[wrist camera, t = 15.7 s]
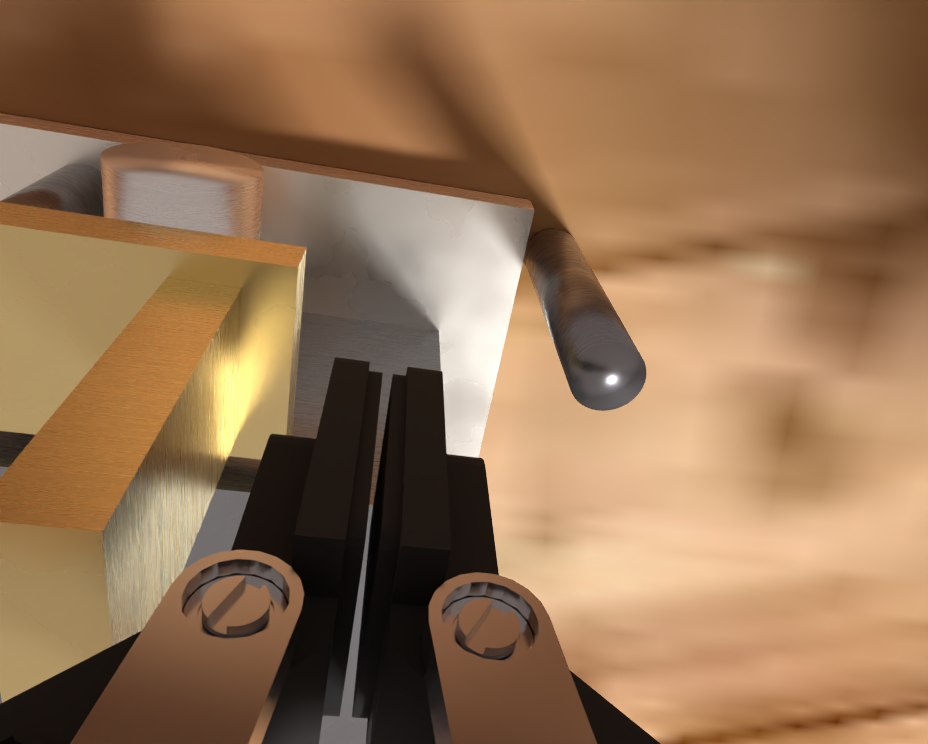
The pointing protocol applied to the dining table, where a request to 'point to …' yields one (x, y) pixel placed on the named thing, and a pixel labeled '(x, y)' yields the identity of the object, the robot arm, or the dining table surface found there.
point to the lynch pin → (183, 187)
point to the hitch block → (371, 302)
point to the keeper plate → (125, 414)
